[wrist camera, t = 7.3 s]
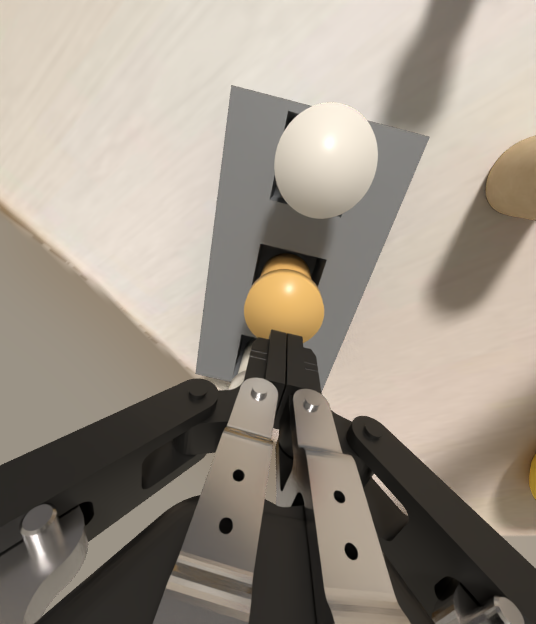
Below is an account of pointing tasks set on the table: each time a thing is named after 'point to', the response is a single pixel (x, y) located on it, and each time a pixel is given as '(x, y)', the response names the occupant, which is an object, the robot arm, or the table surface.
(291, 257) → the amber plunger
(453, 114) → the table surface
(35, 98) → the table surface
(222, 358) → the grey rectangular block
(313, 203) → the white plunger
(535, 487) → the teapot
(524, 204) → the candle
